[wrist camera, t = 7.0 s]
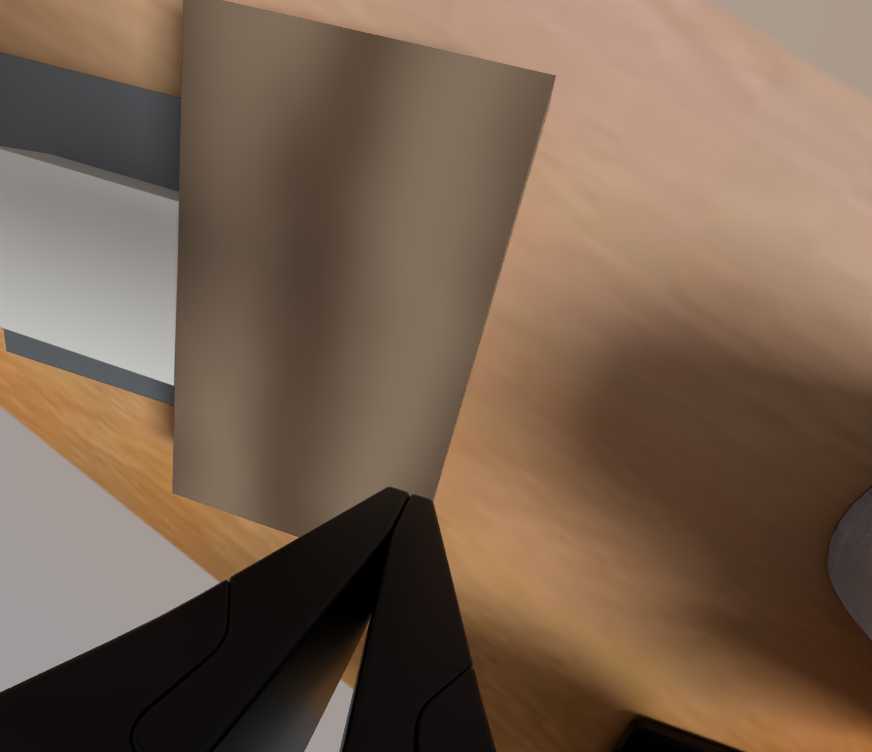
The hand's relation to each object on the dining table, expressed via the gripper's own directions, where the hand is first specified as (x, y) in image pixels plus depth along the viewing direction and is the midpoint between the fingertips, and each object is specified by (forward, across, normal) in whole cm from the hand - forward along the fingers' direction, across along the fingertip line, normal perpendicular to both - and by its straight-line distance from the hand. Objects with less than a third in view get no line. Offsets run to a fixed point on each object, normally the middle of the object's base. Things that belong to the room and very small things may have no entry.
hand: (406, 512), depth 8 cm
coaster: (+10, +15, 0) cm, 18 cm away
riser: (+10, +5, 0) cm, 12 cm away
